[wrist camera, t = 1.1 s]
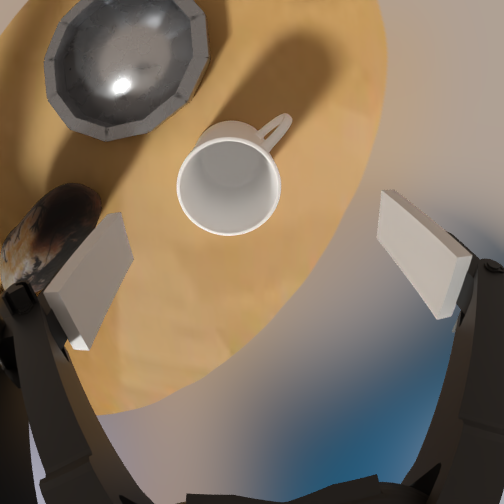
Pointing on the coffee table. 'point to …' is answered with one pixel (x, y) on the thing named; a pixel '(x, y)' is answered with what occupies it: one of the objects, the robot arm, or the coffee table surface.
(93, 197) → the decorative stone
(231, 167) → the mug
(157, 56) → the gray metal bowl
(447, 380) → the robot arm
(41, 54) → the coffee table surface
